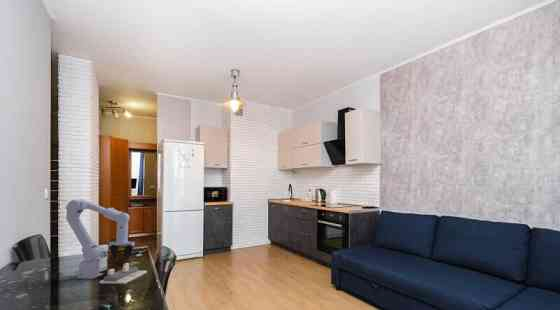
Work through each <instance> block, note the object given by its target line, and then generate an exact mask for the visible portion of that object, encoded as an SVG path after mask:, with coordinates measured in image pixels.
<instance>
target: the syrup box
mask: <svg viewBox="0 0 560 310" xmlns="http://www.w3.org/2000/svg"><path fill="white" fill-rule="evenodd" d="M98 246H99V247H101V249H102V254H101V255H100V270H99V273H100V272H103V271H106V270H108V267H109V266H108V263H109V262H108V261H109V260H108V259H109V244H100V245H99V244H98Z"/></svg>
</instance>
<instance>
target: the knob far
mask: <svg viewBox="0 0 560 310" xmlns="http://www.w3.org/2000/svg"><path fill="white" fill-rule="evenodd" d="M122 264H123V263H122ZM125 266H129V267H130V262H126V263H124V264H123V265H122V268H123V267H125Z"/></svg>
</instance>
